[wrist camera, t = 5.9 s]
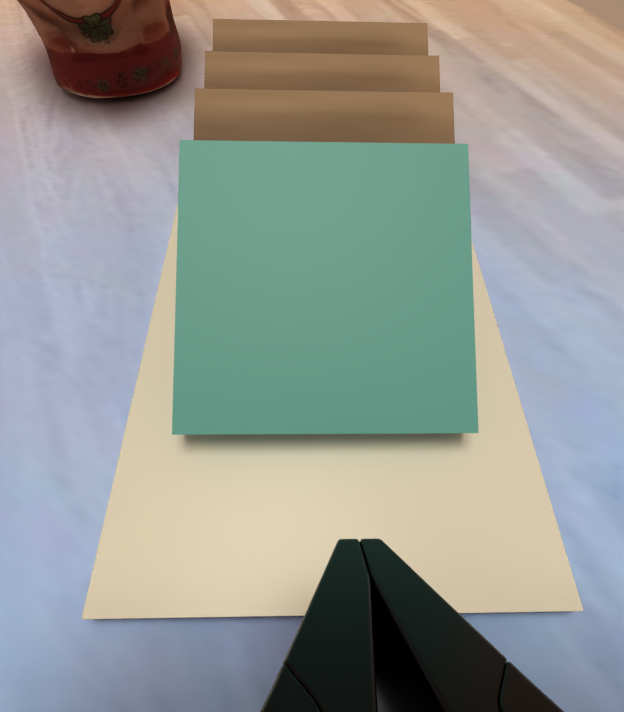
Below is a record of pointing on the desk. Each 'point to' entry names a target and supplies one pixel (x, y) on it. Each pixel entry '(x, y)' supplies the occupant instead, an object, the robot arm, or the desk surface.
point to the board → (323, 502)
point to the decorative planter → (108, 44)
